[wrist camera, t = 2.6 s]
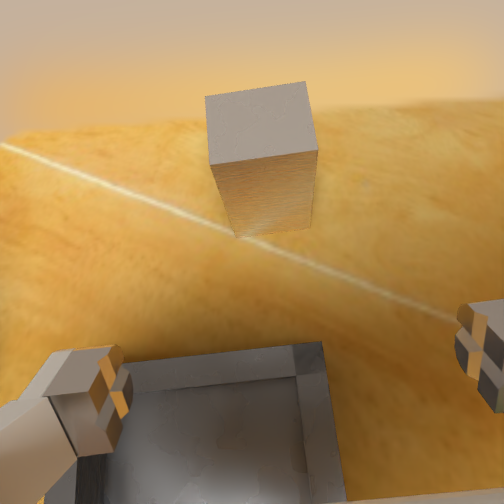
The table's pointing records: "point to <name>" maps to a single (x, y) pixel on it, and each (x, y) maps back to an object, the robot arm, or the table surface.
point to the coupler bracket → (219, 434)
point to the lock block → (263, 157)
